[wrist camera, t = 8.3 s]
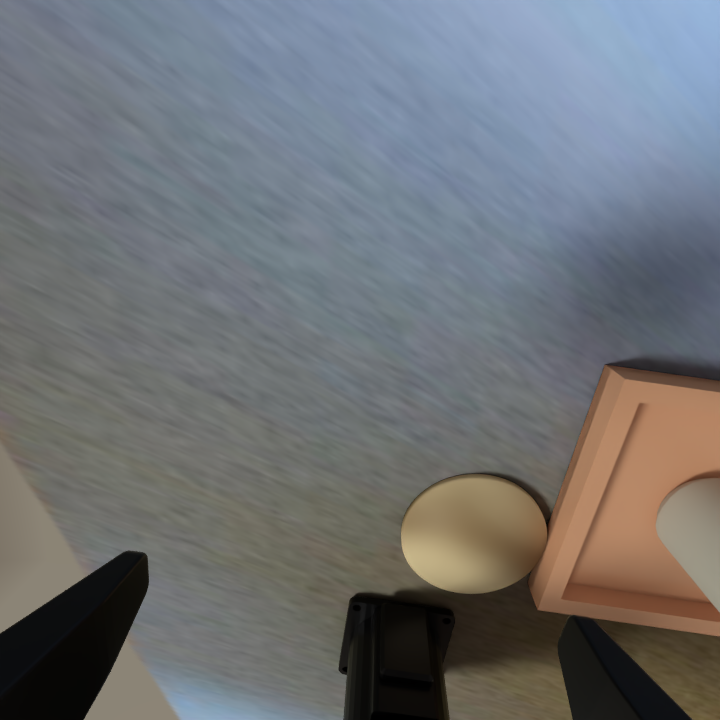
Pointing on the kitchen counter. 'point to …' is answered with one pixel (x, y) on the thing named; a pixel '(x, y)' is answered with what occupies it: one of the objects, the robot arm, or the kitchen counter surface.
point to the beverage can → (694, 532)
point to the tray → (631, 503)
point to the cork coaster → (473, 534)
